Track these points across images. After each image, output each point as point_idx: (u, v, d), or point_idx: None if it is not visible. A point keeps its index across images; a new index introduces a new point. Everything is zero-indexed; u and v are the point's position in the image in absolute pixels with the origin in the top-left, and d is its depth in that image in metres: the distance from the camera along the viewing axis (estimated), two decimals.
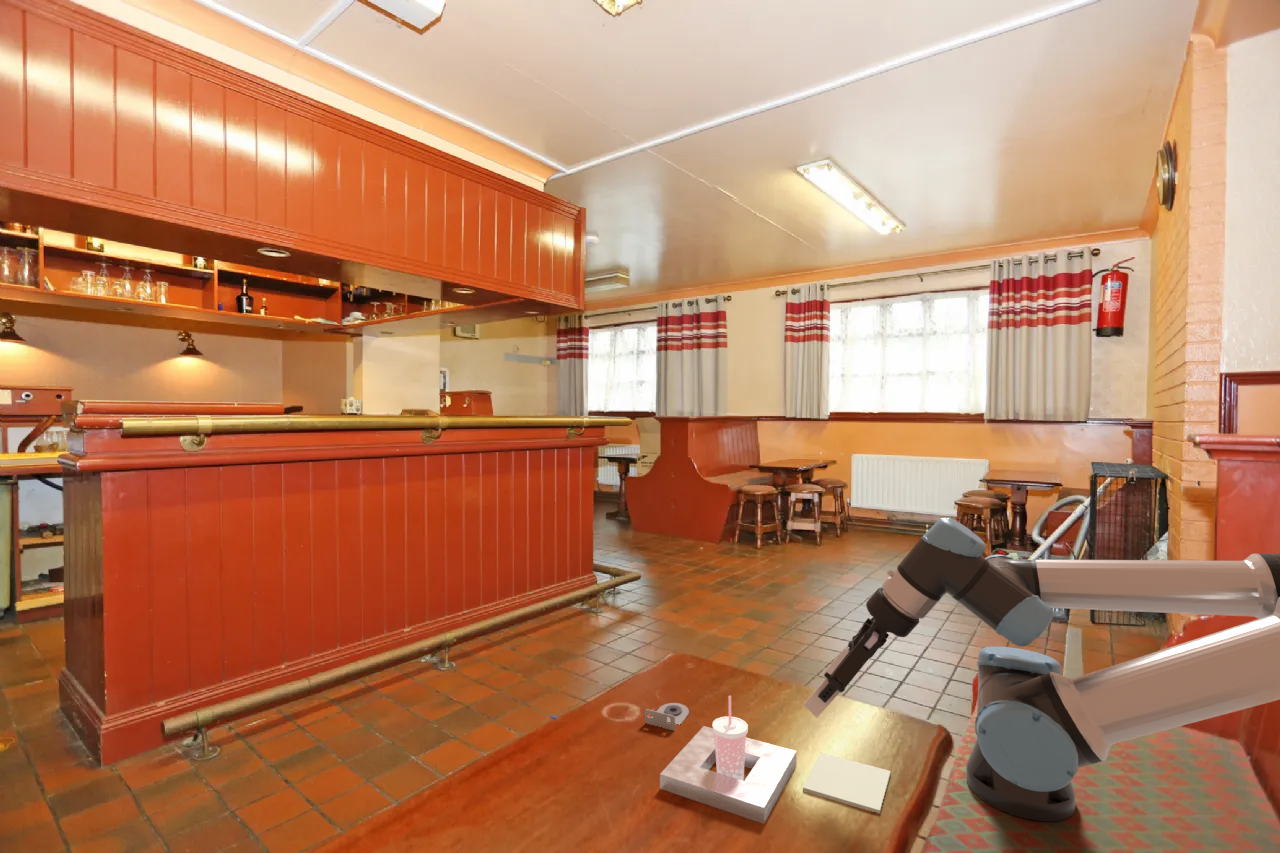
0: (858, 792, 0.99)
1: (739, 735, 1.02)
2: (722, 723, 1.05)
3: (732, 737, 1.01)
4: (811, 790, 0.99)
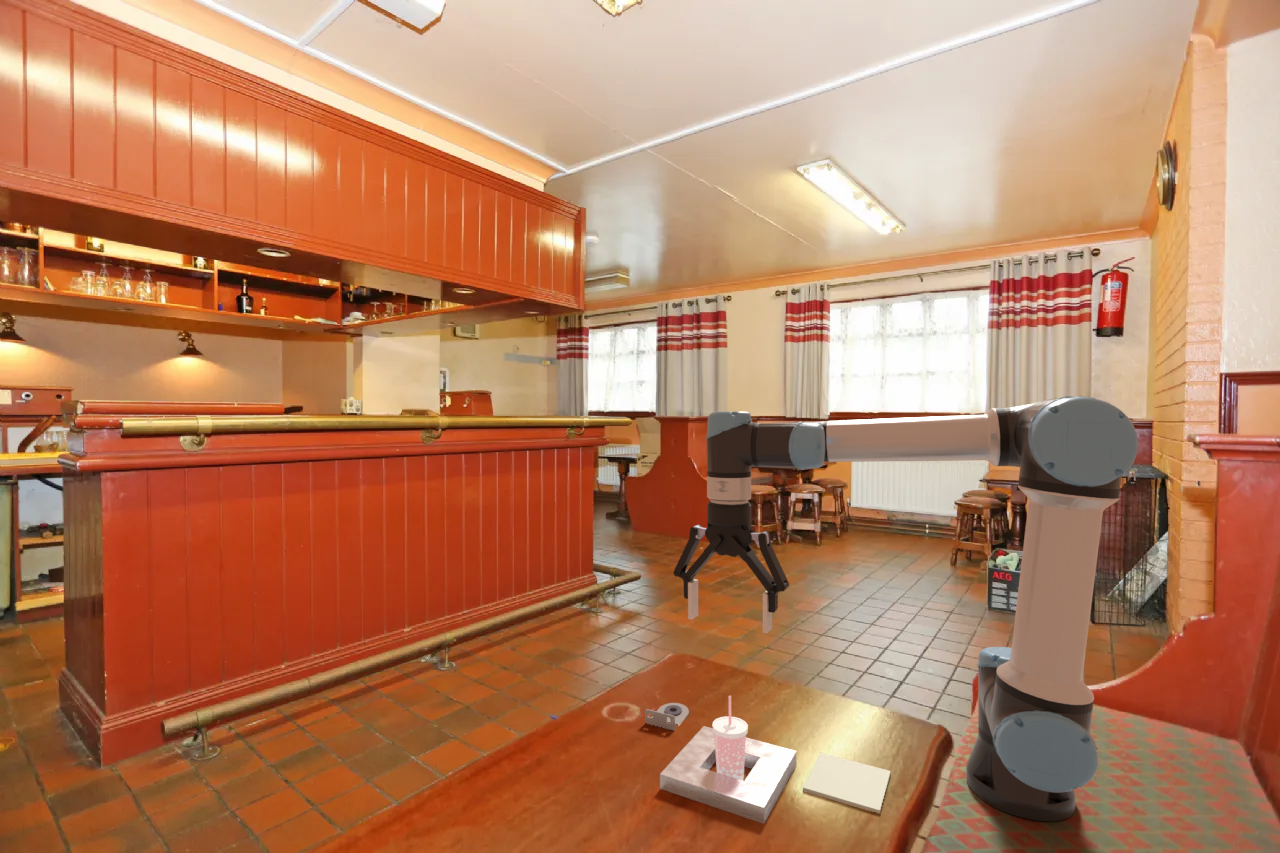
0: (858, 792, 0.99)
1: (739, 735, 1.02)
2: (722, 723, 1.05)
3: (732, 737, 1.01)
4: (811, 790, 0.99)
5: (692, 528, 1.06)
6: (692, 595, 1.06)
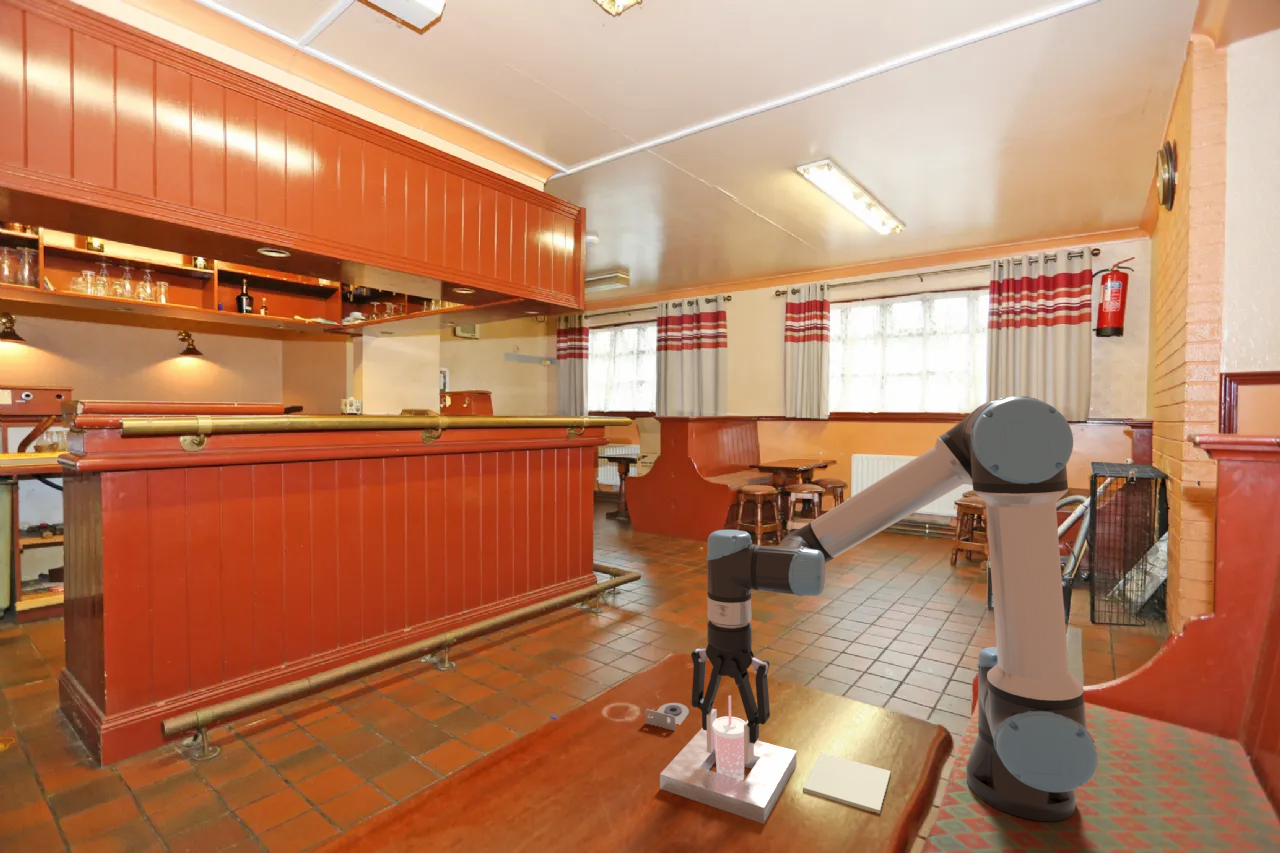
0: (858, 792, 0.99)
1: (739, 734, 1.02)
2: (722, 723, 1.05)
3: (732, 737, 1.01)
4: (811, 790, 0.99)
5: (693, 653, 1.06)
6: (711, 728, 1.05)
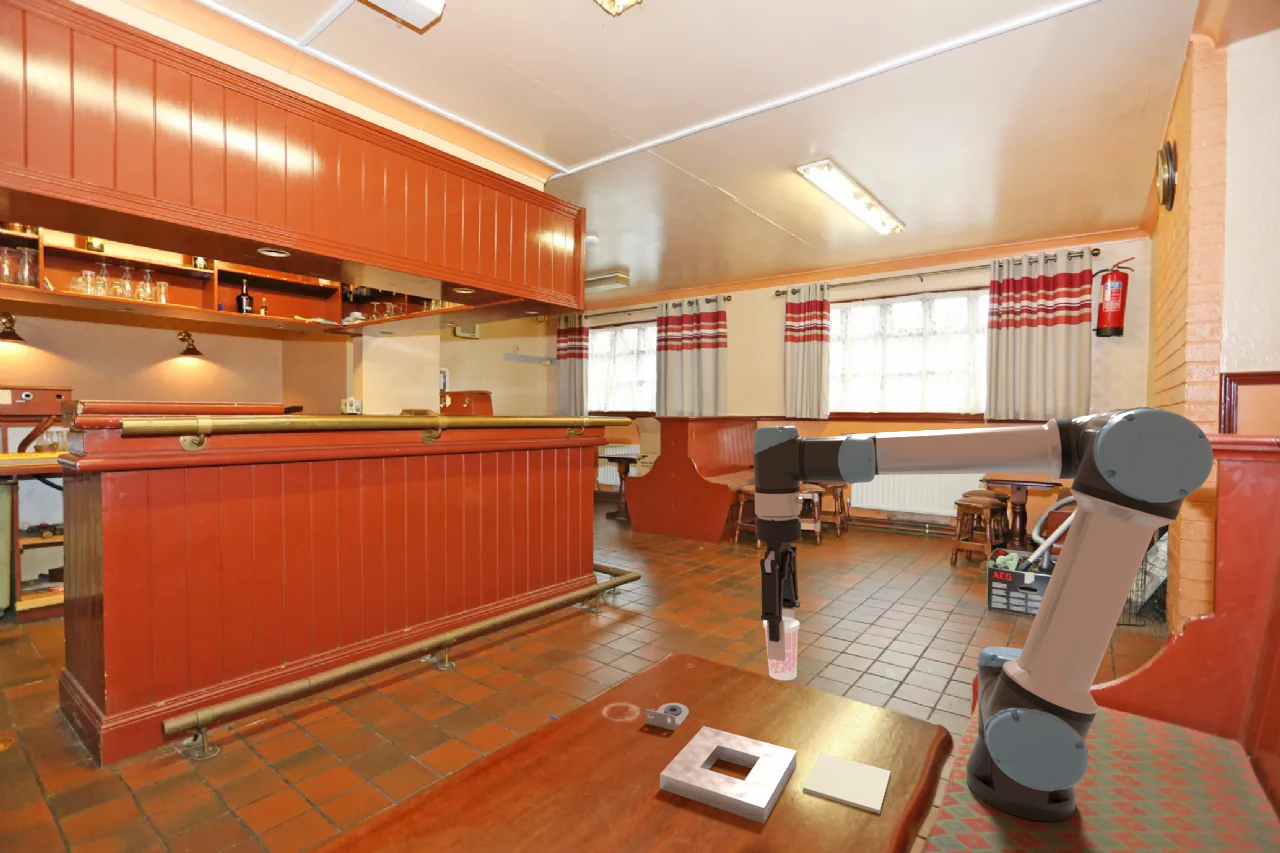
0: (858, 792, 0.99)
1: (795, 620, 1.04)
2: None
3: None
4: (811, 790, 0.99)
5: (775, 562, 0.97)
6: None
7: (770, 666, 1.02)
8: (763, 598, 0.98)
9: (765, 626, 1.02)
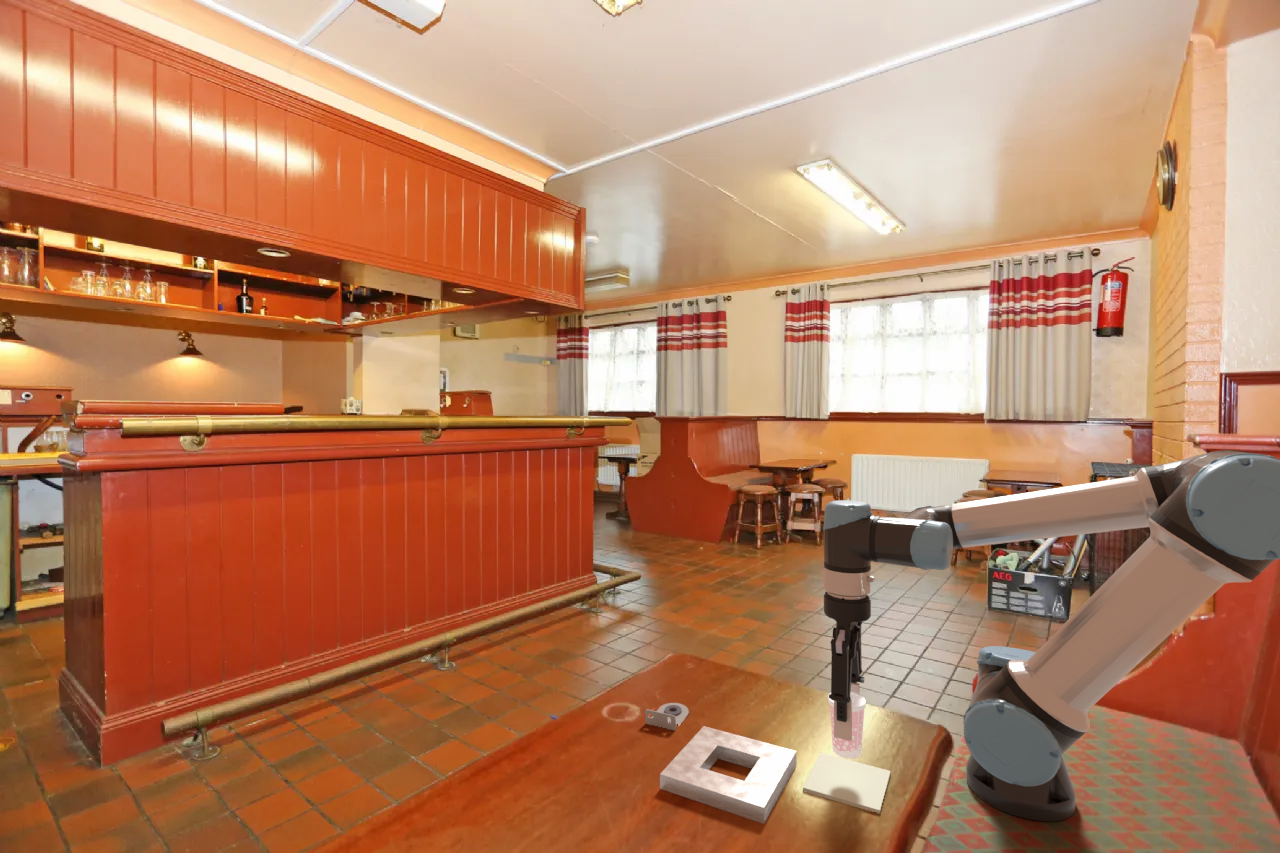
0: (858, 792, 0.99)
1: (860, 696, 1.03)
2: None
3: None
4: (811, 790, 0.99)
5: (847, 644, 0.96)
6: None
7: (835, 743, 1.02)
8: (833, 679, 0.97)
9: (831, 703, 1.01)
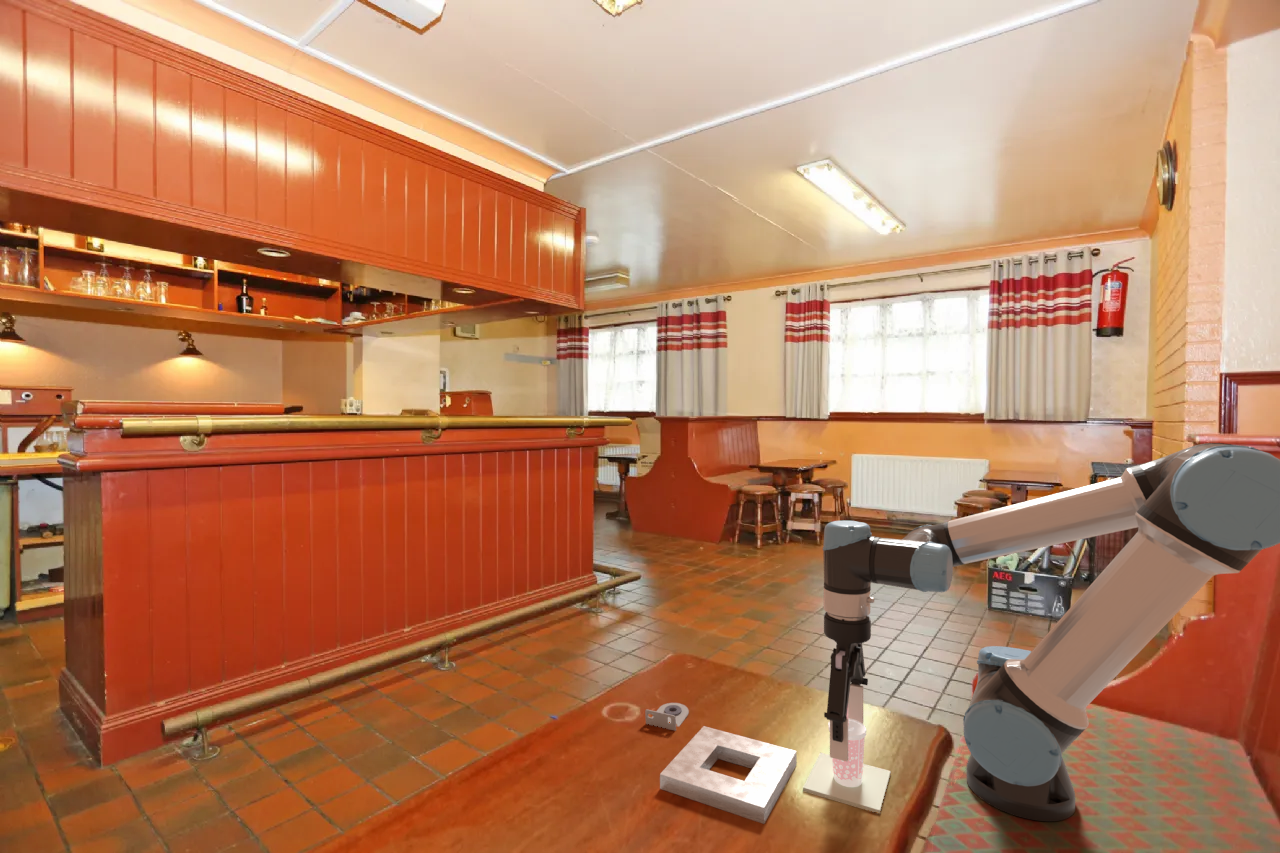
0: (858, 792, 0.99)
1: (860, 724, 1.03)
2: None
3: None
4: (811, 790, 0.99)
5: (847, 658, 0.96)
6: None
7: (836, 771, 1.02)
8: (830, 695, 0.95)
9: None
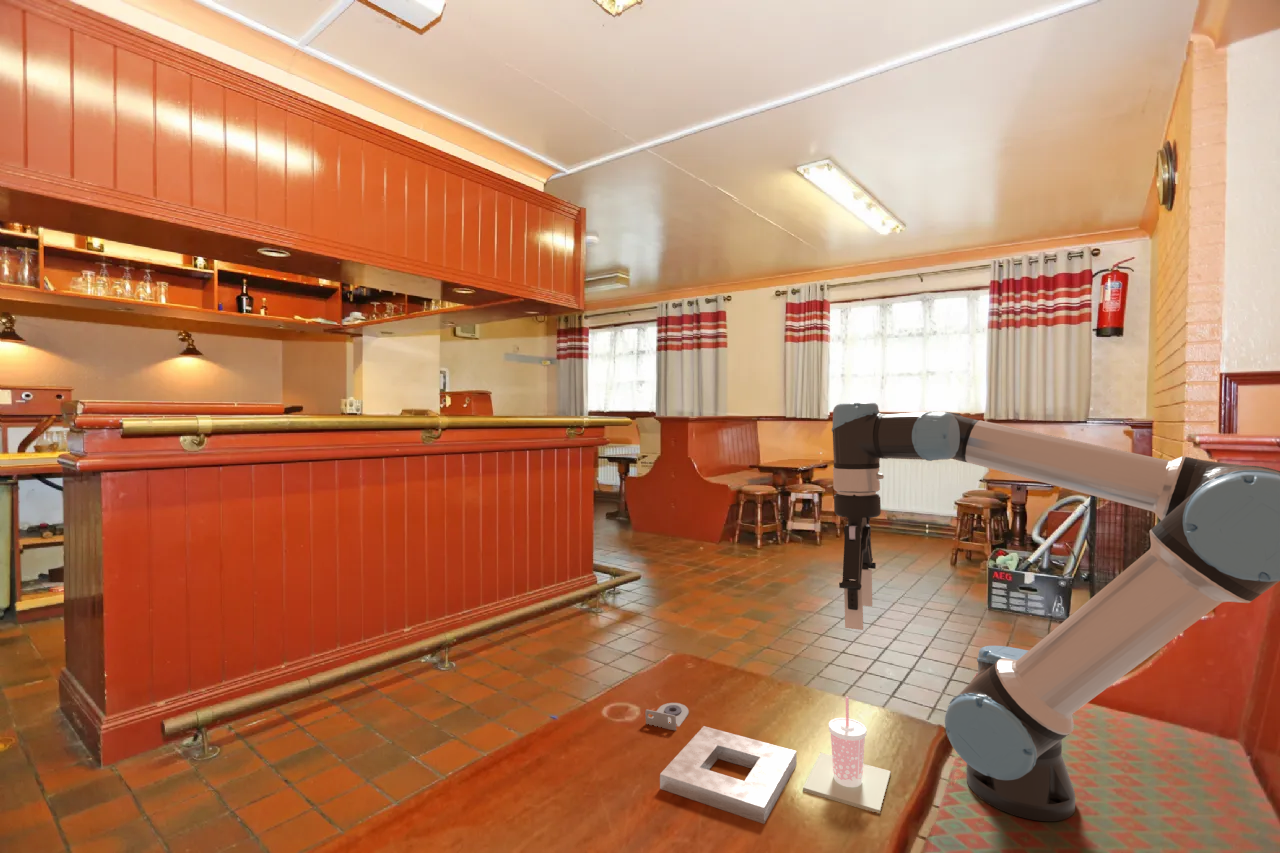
0: (858, 792, 0.99)
1: (861, 724, 1.03)
2: (844, 731, 1.01)
3: None
4: (811, 790, 0.99)
5: (860, 528, 0.98)
6: None
7: (836, 771, 1.02)
8: (845, 564, 0.96)
9: (832, 731, 1.01)
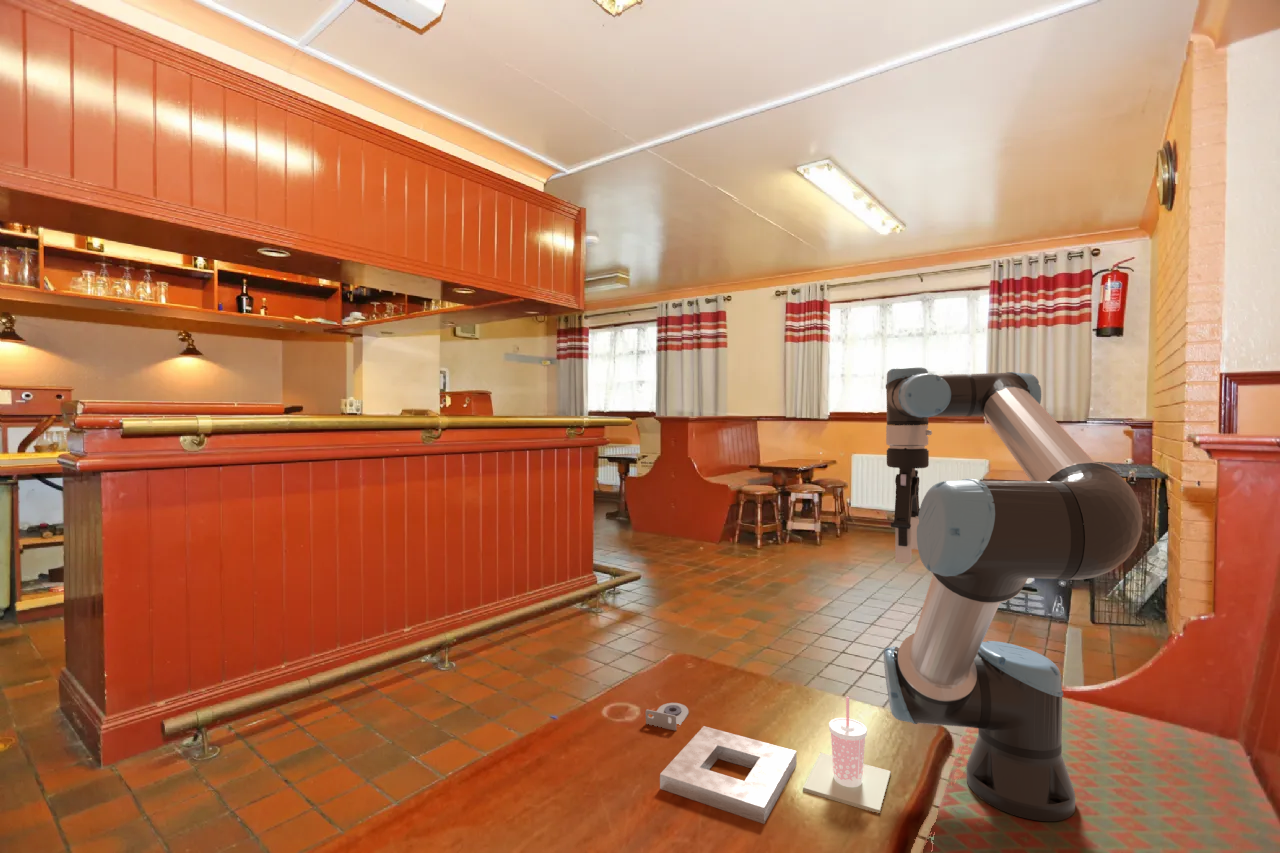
0: (858, 792, 0.99)
1: (861, 724, 1.03)
2: (845, 730, 1.01)
3: None
4: (811, 790, 0.99)
5: (910, 476, 1.12)
6: None
7: (836, 771, 1.02)
8: (896, 506, 1.11)
9: (832, 731, 1.01)
